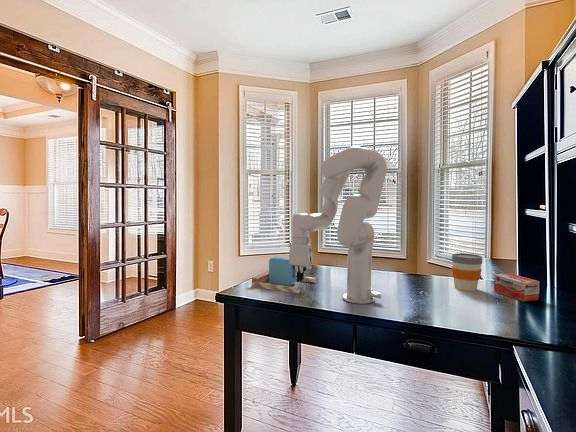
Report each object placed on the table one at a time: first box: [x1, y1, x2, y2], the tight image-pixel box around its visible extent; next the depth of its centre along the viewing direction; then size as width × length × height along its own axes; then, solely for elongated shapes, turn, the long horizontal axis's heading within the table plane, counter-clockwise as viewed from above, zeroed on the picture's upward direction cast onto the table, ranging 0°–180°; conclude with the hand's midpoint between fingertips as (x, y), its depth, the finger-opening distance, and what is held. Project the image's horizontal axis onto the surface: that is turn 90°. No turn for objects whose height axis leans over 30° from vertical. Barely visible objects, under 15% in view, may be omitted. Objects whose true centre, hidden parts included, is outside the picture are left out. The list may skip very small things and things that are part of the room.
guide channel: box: [251, 270, 317, 294], centre depth 166 cm, size 23×21×4 cm
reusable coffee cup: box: [451, 252, 483, 292], centre depth 162 cm, size 13×13×15 cm
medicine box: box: [493, 273, 540, 302], centre depth 152 cm, size 15×8×8 cm, turn 14°
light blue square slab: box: [268, 256, 297, 287], centre depth 167 cm, size 12×4×12 cm, turn 64°
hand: (300, 280), depth 163 cm, fingers closed
